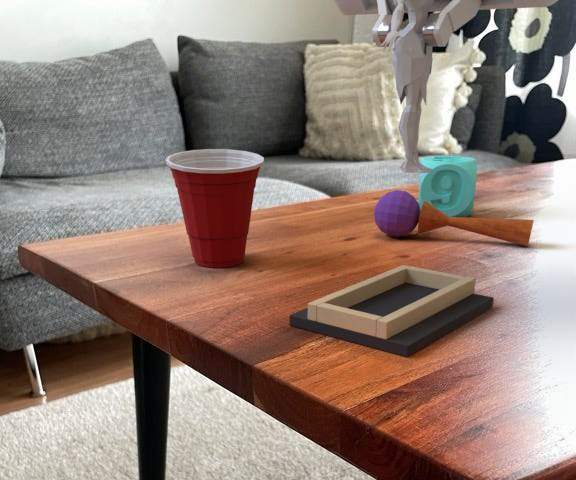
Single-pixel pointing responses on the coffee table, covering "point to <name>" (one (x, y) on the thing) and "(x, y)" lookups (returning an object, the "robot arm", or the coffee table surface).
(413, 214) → the kendama
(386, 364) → the coffee table surface
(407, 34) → the human figurine
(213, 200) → the plastic cup
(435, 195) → the decorative dice
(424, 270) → the stand pad
